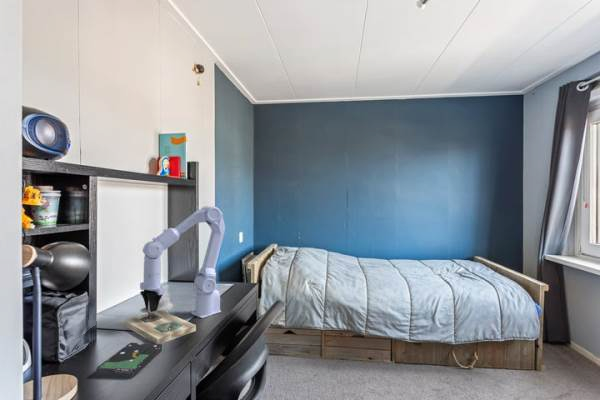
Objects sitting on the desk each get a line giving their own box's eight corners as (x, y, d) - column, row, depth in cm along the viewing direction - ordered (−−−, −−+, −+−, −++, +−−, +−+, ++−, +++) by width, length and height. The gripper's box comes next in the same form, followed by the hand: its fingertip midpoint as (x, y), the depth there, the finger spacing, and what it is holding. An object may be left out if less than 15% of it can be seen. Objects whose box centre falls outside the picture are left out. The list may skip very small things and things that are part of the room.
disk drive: (129, 351, 94) (95, 378, 79) (129, 342, 94) (95, 367, 79) (162, 352, 93) (133, 380, 78) (162, 343, 93) (134, 369, 78)
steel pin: (153, 316, 115) (153, 295, 115) (156, 318, 113) (157, 297, 113) (146, 318, 113) (146, 297, 113) (149, 320, 111) (149, 299, 111)
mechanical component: (162, 303, 136) (141, 310, 128) (162, 293, 137) (142, 300, 128) (177, 307, 132) (157, 314, 123) (177, 297, 132) (157, 304, 123)
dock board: (161, 315, 122) (161, 309, 122) (195, 330, 108) (196, 324, 108) (124, 325, 111) (124, 319, 111) (157, 345, 97) (157, 337, 97)
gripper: (132, 272, 115) (131, 308, 114) (151, 279, 106) (150, 318, 106) (150, 269, 120) (150, 304, 120) (170, 275, 111) (169, 312, 111)
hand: (151, 310), depth 113 cm, fingers closed on steel pin, 2 cm apart
